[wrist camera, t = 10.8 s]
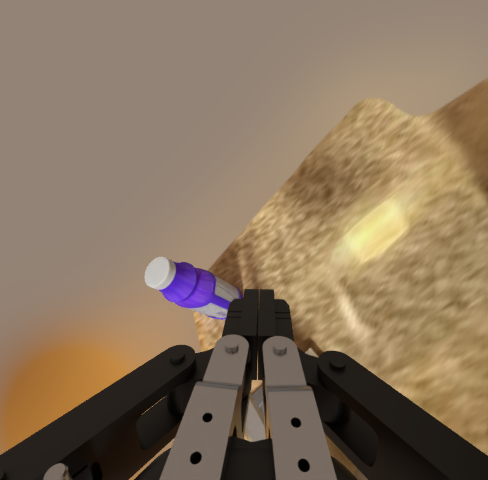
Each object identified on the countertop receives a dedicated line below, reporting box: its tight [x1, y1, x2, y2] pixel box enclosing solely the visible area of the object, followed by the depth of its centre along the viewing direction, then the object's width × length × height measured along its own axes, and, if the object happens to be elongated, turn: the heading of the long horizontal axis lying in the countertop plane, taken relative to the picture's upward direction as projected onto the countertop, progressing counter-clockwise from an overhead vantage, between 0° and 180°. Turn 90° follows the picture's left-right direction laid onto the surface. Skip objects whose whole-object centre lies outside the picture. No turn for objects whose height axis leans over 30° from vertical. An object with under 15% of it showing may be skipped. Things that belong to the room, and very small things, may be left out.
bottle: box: [145, 257, 242, 319], centre depth 40 cm, size 7×6×17 cm
